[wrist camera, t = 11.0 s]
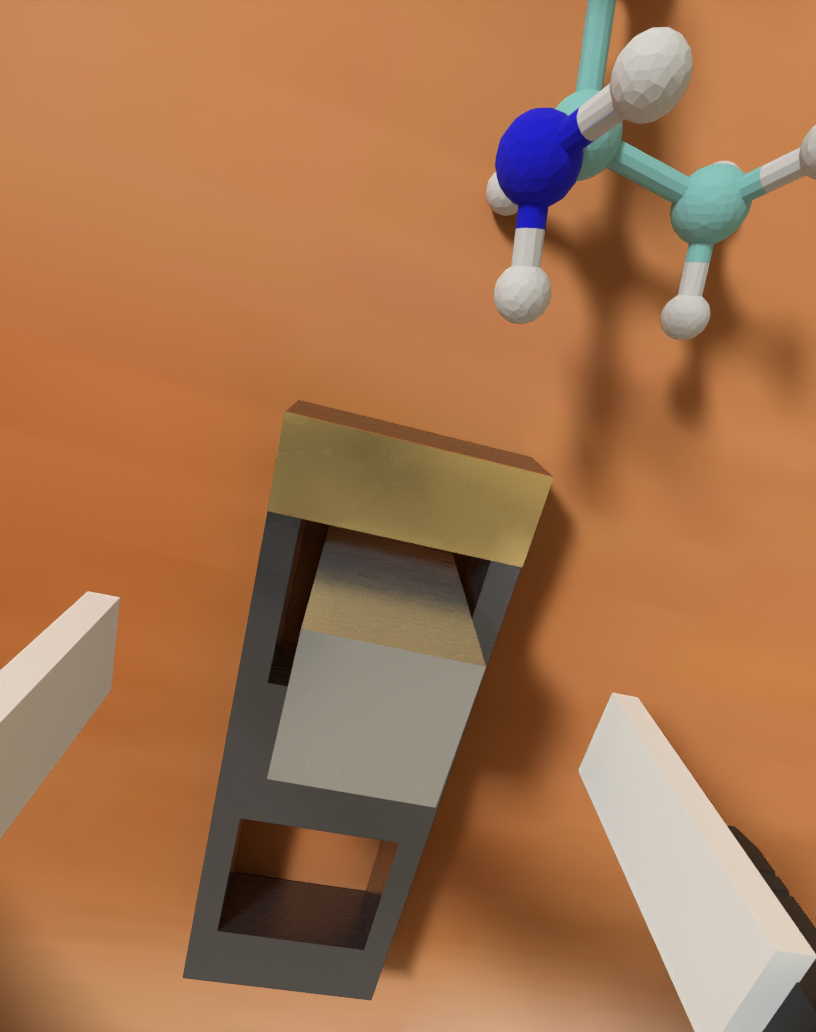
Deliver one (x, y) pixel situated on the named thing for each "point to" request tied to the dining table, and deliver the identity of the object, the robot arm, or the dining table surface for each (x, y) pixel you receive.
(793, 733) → the dining table surface
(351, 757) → the light grey rectangular block
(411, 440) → the grey slotted frame
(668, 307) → the molecular model
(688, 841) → the robot arm
